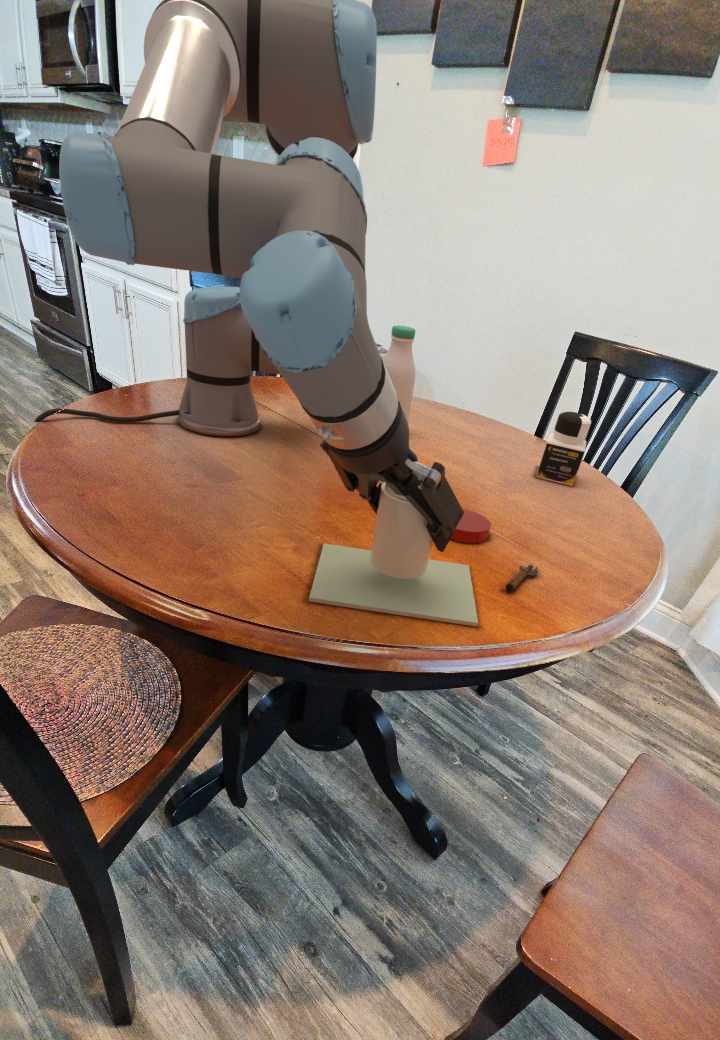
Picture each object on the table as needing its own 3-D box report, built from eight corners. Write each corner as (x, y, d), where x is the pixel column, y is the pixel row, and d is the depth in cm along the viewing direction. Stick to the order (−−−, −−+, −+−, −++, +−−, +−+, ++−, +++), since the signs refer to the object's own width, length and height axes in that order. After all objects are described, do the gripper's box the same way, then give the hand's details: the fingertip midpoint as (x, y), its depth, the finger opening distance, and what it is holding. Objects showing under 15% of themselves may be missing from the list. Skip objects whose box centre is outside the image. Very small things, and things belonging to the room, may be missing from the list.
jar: (367, 573, 69) (382, 484, 63) (371, 546, 75) (384, 461, 69) (427, 582, 70) (448, 494, 63) (426, 554, 75) (445, 471, 69)
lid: (498, 536, 90) (501, 525, 89) (464, 547, 85) (467, 536, 84) (459, 515, 94) (462, 504, 93) (425, 525, 90) (428, 513, 88)
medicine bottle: (535, 477, 114) (555, 414, 107) (539, 466, 119) (558, 406, 112) (572, 486, 112) (595, 423, 105) (574, 475, 118) (596, 414, 111)
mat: (308, 601, 68) (309, 597, 68) (323, 546, 80) (323, 542, 79) (477, 627, 69) (478, 622, 68) (468, 568, 80) (469, 565, 80)
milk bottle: (406, 428, 129) (423, 327, 117) (405, 439, 123) (423, 333, 111) (371, 422, 129) (385, 321, 117) (368, 433, 123) (383, 327, 111)
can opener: (511, 593, 76) (513, 585, 75) (495, 585, 77) (498, 578, 76) (541, 572, 82) (544, 565, 81) (526, 565, 83) (529, 558, 82)
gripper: (254, 420, 56) (339, 526, 77) (434, 489, 48) (474, 588, 68) (295, 355, 56) (368, 478, 77) (479, 412, 48) (506, 533, 69)
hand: (418, 530), depth 73 cm, fingers closed on jar, 7 cm apart
